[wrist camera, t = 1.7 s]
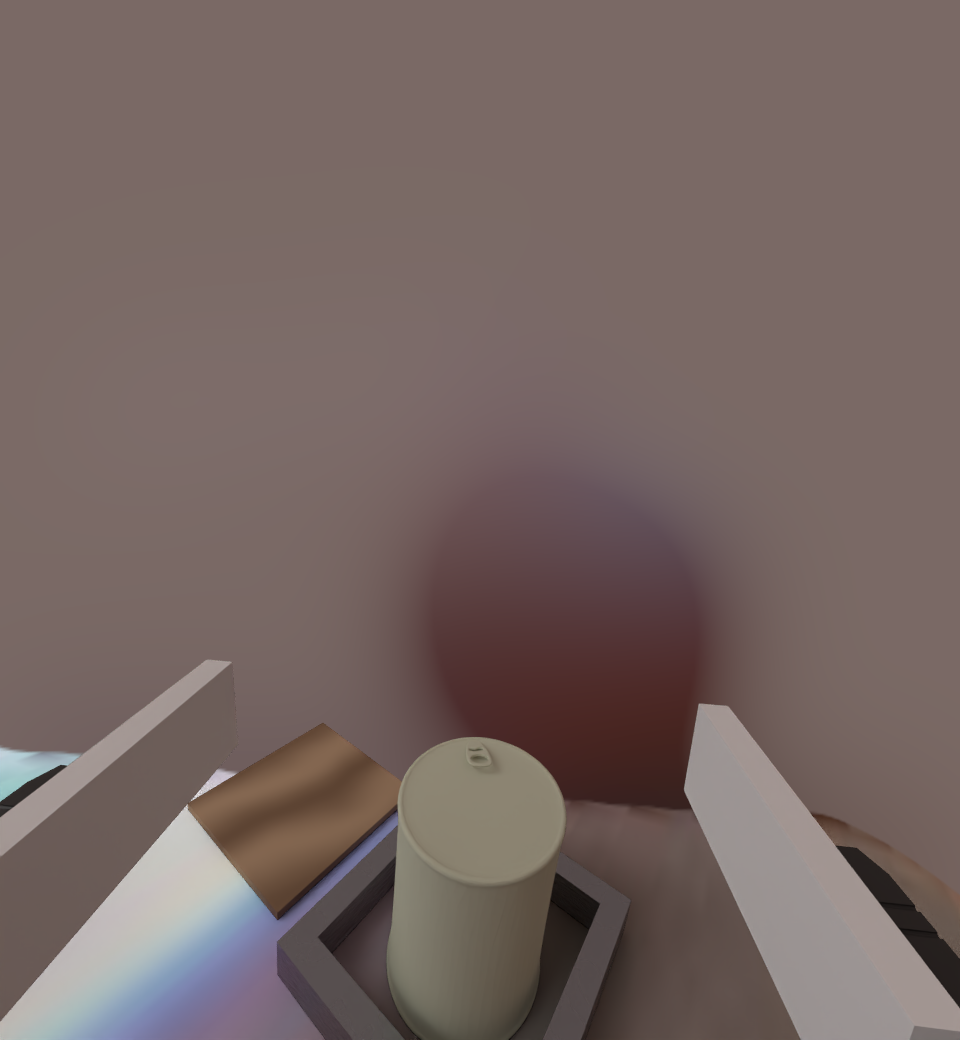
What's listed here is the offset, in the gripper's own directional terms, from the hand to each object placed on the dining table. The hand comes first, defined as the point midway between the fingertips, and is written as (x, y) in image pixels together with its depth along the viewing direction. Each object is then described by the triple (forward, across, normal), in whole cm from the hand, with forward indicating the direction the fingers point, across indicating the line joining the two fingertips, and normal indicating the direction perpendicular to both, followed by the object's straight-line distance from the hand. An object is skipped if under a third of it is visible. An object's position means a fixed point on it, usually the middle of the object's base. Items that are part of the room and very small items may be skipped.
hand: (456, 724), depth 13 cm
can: (+10, 0, -23) cm, 25 cm away
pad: (+18, -14, -22) cm, 32 cm away
